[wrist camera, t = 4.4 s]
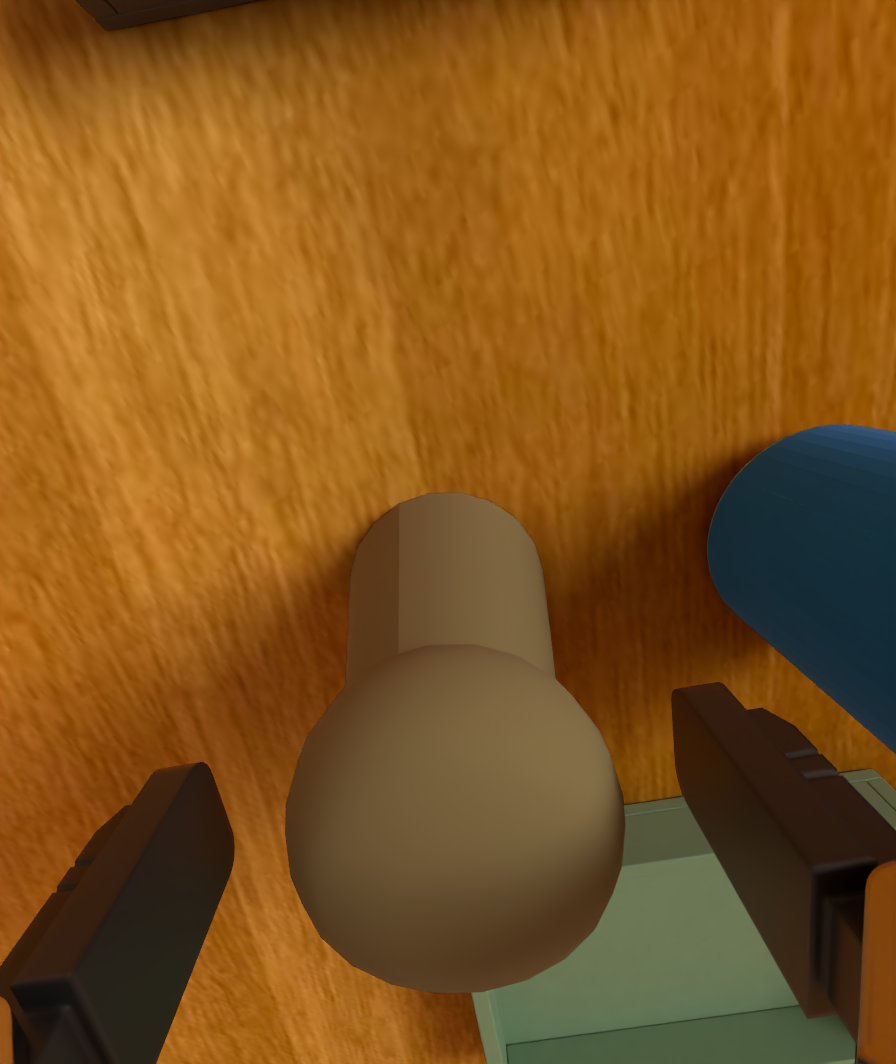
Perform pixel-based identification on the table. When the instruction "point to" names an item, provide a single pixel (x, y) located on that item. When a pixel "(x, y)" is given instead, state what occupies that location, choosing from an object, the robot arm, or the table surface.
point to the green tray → (667, 968)
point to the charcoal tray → (147, 10)
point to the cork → (453, 766)
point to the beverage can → (818, 562)
